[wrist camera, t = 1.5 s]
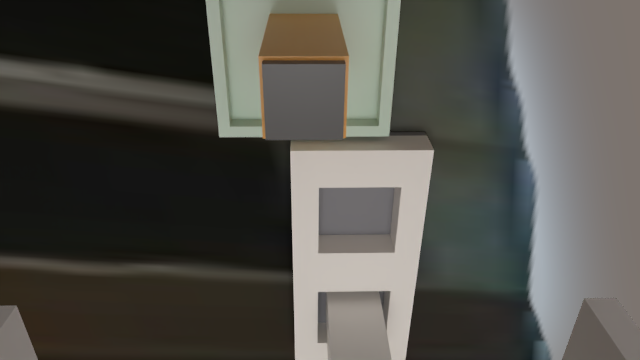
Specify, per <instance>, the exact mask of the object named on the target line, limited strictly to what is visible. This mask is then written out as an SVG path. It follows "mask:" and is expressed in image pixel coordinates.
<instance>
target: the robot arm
mask: <svg viewBox="0 0 640 360" xmlns="http://www.w3.org/2000/svg"><path fill="white" fill-rule="evenodd" d="M0 360H38V359H37V357H36V354H35V351H34V349H33V346H32V344H31V341H30V339H29V336H28V334H27V331H26V329H25V326H24V324H23V321H22V319H21V316H20V313H19V311H18V308H17V306H0ZM562 360H640V329H639V327H638V326H637V325H636V323H635V322H634V321H633V319H632V318H631V317H630V315H629V314H628V313H627V311H626V310H625V309H624V308H623V306H622V305H621V304H620V302H619V301H618V300H617V298H585V299H584V301H583V303H582V306H581V309H580V312H579V314H578V317H577V320H576V323H575V325H574V328H573V331H572V334H571V336H570V339H569V342H568V345H567V348H566V350H565V353H564V356H563V359H562Z"/></svg>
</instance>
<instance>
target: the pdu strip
mask: <svg viewBox="0 0 640 360" xmlns="http://www.w3.org/2000/svg"><path fill="white" fill-rule="evenodd" d="M433 154H434V149H433V147H432V145H431V143H430V141H429V139H428V137H427V135H426V133H425V132H390V133H389V136H380V137H346V138H343V140H291V147H290V160H291V203H292V245H293V288H294V330H295V360H328V352H327V332H326V292H354V291H379V294H380V299H381V305H382V310H383V316H384V321H385V326H386V332H387V337H388V343H389V348H390V353H391V359H392V360H405V358H406V351H407V343H408V336H409V329H410V322H411V314H412V307H413V300H414V292H415V285H416V278H417V271H418V263H419V256H420V249H421V241H422V234H423V227H424V220H425V212H426V205H427V198H428V190H429V183H430V176H431V168H432V161H433Z"/></svg>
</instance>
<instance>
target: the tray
mask: <svg viewBox="0 0 640 360" xmlns="http://www.w3.org/2000/svg"><path fill="white" fill-rule="evenodd" d="M400 4H401V0H206V10H207V20H208V30H209V40H210V49H211V59H212V69H213V79H214V89H215V99H216V109H217V119H218V128H219V137H263V134H262V115H261V97H260V78H259V59H258V56H259V52H260V48H261V44H262V41H263V37H264V33H265V29H266V25H267V22H268V18H269V14H338V16H339V20H340V24H341V28H342V31H343V35H344V39H345V43H346V47H347V50H348V54H349V72H348V98H347V124H346V137H380V136H389V133H390V121H391V109H392V98H393V86H394V74H395V63H396V51H397V39H398V28H399V16H400Z"/></svg>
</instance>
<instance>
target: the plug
mask: <svg viewBox="0 0 640 360" xmlns="http://www.w3.org/2000/svg"><path fill="white" fill-rule="evenodd" d="M258 59H259V78H260V97H261V115H262V134H263V139H266V140H343V138H346V124H347V98H348V72H349V54H348V50H347V47H346V43H345V39H344V35H343V31H342V28H341V24H340V20H339V16H338V14H269V18H268V22H267V25H266V29H265V33H264V37H263V41H262V44H261V48H260V52H259V56H258Z"/></svg>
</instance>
